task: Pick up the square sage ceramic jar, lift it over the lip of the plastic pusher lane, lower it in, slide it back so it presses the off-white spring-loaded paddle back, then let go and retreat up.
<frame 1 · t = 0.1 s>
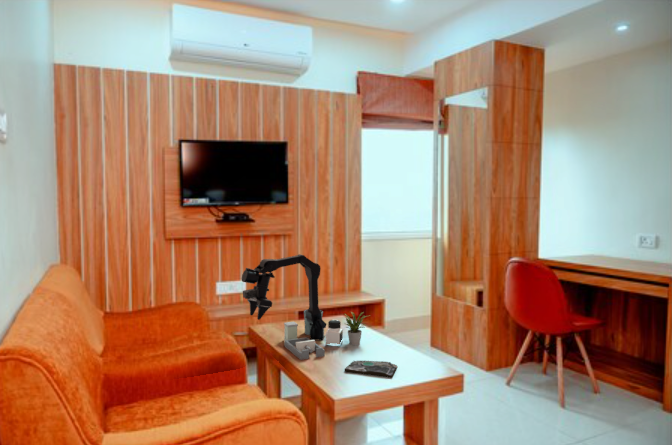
hand: (254, 317, 229), 15 cm above the table, tool pointing down, fingers open, 9 cm apart
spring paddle: (307, 348, 224), point 3 cm above the table, slide at 0.0 cm
drinking glass: (313, 333, 258), on the table
sage jar: (290, 340, 244), on the table
house plant: (357, 343, 241), on the table
pusher lane: (304, 351, 228), on the table
terrain model: (371, 370, 206), on the table
medicine bottle: (334, 344, 239), on the table
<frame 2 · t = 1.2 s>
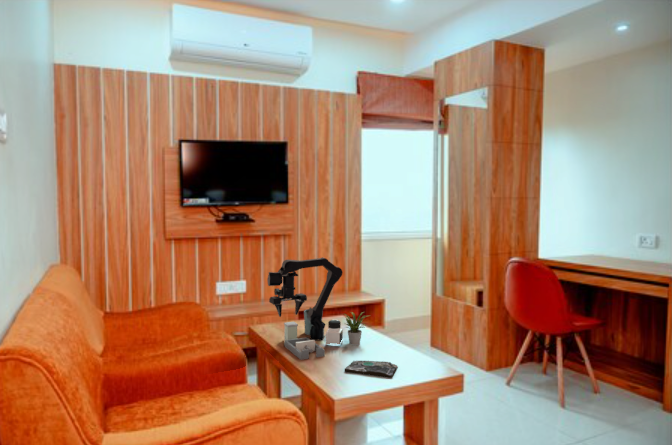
hand: (288, 315, 242), 13 cm above the table, tool pointing down, fingers open, 9 cm apart
nothing on the table moved.
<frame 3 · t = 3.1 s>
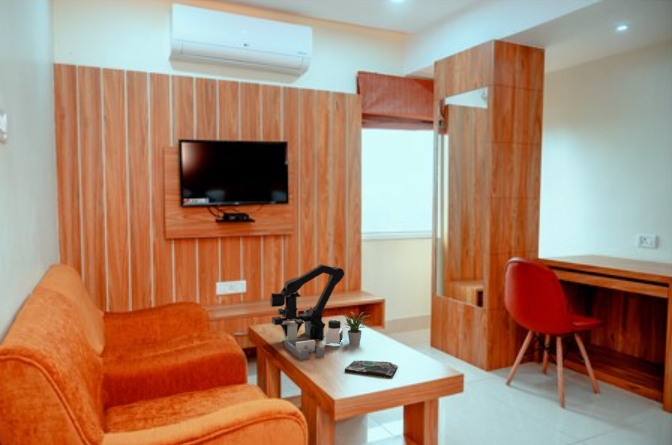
hand: (290, 335, 244), 3 cm above the table, tool pointing down, fingers closed on sage jar, 5 cm apart
sage jar: (290, 340, 244), on the table, touching gripper
everything else where it was.
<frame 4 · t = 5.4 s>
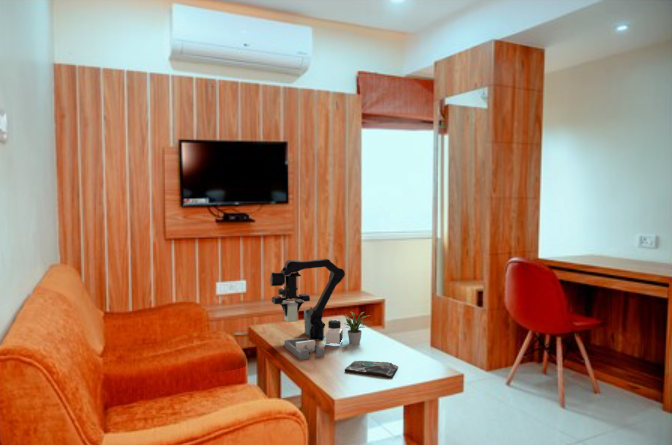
hand: (290, 315, 243), 13 cm above the table, tool pointing down, fingers closed on sage jar, 5 cm apart
sage jar: (290, 320, 243), point 10 cm above the table, touching gripper
everything else where it was.
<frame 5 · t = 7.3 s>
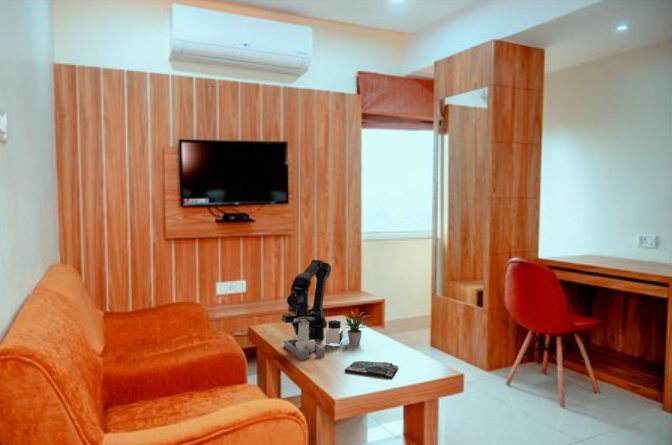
hand: (301, 334, 230), 7 cm above the table, tool pointing down, fingers closed on sage jar, 5 cm apart
sage jar: (301, 339, 231), point 5 cm above the table, touching gripper
everything else where it was.
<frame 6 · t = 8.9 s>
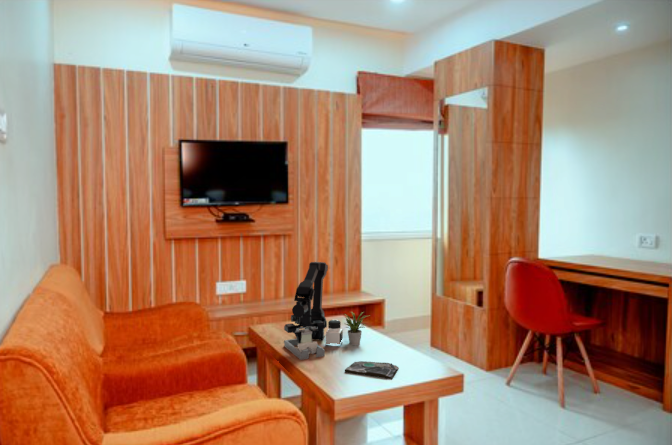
hand: (304, 344, 227), 4 cm above the table, tool pointing down, fingers closed on sage jar, 5 cm apart
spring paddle: (309, 349, 222), point 3 cm above the table, slide at 2.4 cm, touching sage jar
sage jar: (304, 349, 227), point 1 cm above the table, touching gripper, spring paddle
when the fingers open (3 cm above the table, at t = 9.7 s): sage jar drops 1 cm, resting in pusher lane.
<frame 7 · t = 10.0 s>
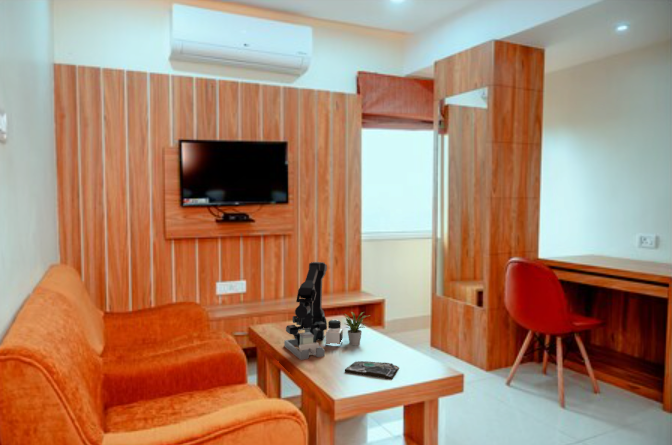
hand: (306, 345, 225), 3 cm above the table, tool pointing down, fingers open, 8 cm apart
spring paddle: (311, 351, 220), point 3 cm above the table, slide at 4.3 cm
sage jar: (306, 352, 226), resting in pusher lane
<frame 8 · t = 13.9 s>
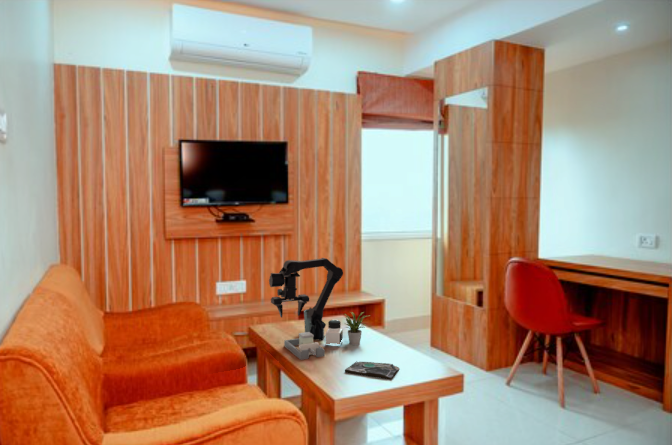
hand: (290, 316, 241), 13 cm above the table, tool pointing down, fingers open, 9 cm apart
at the end: sage jar 2.6 cm from the pusher lane (horizontally); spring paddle slide at 4.1 cm; sage jar tilted 0° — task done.
